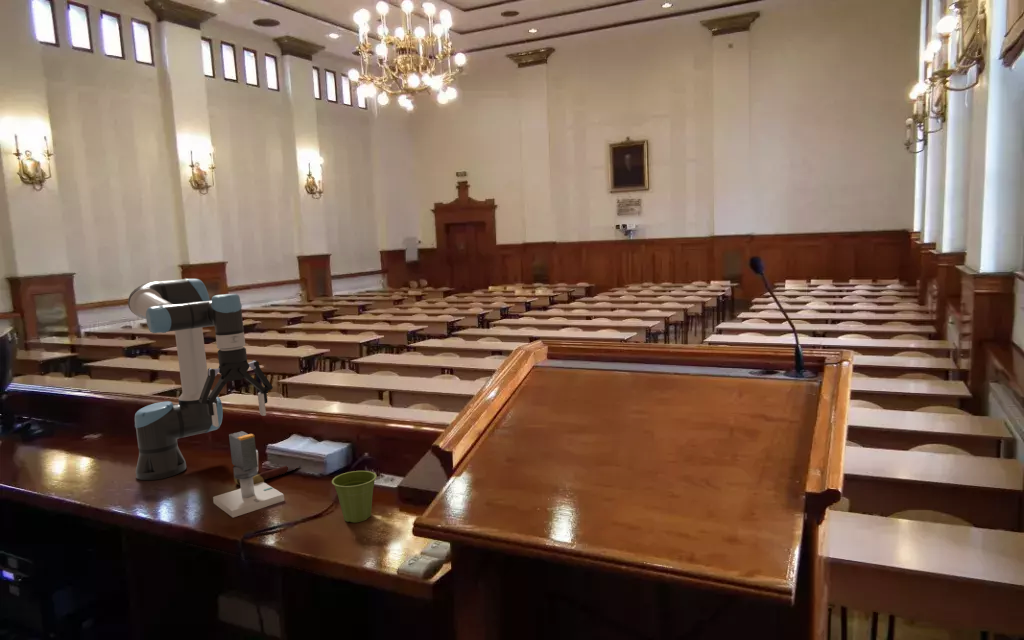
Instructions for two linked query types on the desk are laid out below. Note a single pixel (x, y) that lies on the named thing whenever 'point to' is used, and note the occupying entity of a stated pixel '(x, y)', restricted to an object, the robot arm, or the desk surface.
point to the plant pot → (355, 494)
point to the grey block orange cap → (243, 455)
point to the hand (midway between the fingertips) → (239, 420)
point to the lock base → (248, 498)
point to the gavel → (266, 475)
